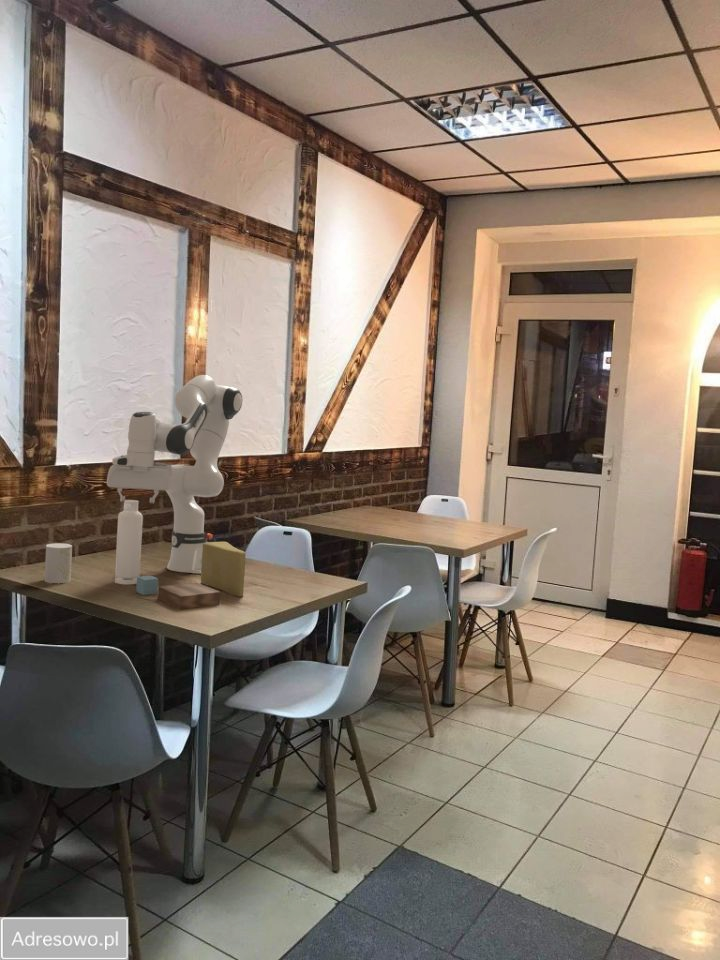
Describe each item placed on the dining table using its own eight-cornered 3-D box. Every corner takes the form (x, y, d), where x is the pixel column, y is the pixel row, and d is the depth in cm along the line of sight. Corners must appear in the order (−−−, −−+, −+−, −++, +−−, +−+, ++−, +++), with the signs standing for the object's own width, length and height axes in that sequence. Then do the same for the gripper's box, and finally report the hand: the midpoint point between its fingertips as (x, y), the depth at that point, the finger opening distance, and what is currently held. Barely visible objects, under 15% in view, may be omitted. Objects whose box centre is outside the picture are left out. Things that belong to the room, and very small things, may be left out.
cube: (150, 590, 263) (151, 575, 263) (157, 593, 259) (158, 578, 259) (136, 591, 260) (137, 576, 259) (143, 595, 256) (144, 580, 256)
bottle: (144, 581, 274) (148, 501, 271) (128, 585, 266) (132, 503, 264) (125, 577, 277) (130, 498, 275) (109, 581, 270) (113, 500, 267)
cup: (61, 584, 261) (63, 548, 260) (39, 581, 262) (40, 546, 261) (75, 580, 269) (76, 545, 268) (53, 577, 270) (55, 542, 269)
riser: (196, 594, 262) (196, 582, 261) (219, 604, 252) (220, 591, 251) (157, 598, 252) (158, 586, 252) (180, 609, 242) (181, 596, 242)
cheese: (254, 596, 266) (257, 552, 265) (228, 598, 260) (231, 553, 259) (224, 581, 284) (227, 540, 282) (199, 583, 278) (201, 541, 277)
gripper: (171, 462, 268) (168, 503, 269) (108, 458, 261) (105, 499, 262) (173, 463, 262) (170, 505, 263) (108, 459, 255) (105, 501, 256)
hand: (137, 502), depth 262 cm, fingers open, 8 cm apart
